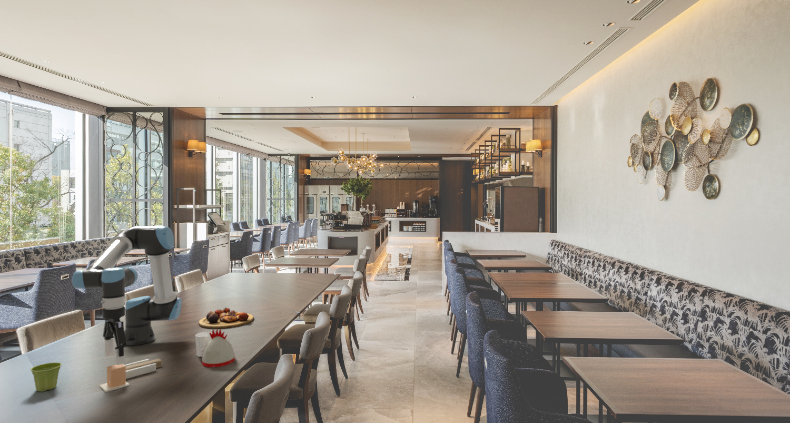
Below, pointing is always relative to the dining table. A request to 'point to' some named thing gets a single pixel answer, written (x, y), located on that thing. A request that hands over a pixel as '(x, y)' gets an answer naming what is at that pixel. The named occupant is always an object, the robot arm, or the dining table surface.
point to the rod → (157, 361)
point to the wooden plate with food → (225, 319)
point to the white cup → (202, 342)
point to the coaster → (108, 388)
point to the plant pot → (46, 376)
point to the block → (116, 375)
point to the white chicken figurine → (218, 351)
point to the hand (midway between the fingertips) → (114, 359)
